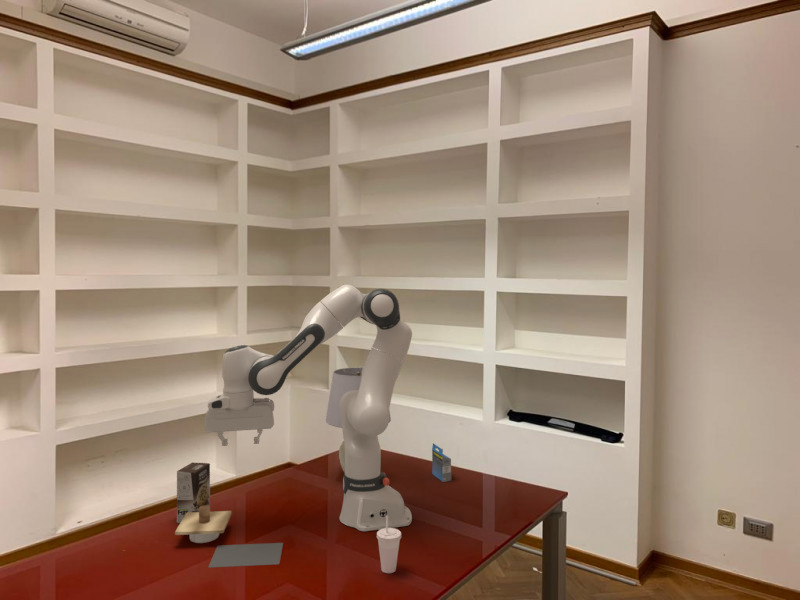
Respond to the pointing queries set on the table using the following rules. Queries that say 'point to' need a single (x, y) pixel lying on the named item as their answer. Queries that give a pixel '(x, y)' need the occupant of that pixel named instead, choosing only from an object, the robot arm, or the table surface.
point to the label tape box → (441, 464)
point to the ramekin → (203, 537)
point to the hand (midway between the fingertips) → (240, 444)
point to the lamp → (341, 385)
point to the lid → (204, 522)
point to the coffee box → (192, 488)
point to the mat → (246, 555)
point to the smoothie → (388, 547)
